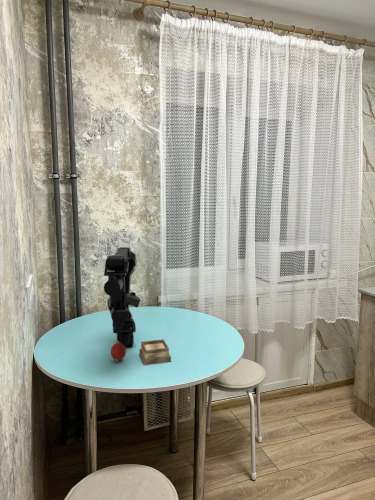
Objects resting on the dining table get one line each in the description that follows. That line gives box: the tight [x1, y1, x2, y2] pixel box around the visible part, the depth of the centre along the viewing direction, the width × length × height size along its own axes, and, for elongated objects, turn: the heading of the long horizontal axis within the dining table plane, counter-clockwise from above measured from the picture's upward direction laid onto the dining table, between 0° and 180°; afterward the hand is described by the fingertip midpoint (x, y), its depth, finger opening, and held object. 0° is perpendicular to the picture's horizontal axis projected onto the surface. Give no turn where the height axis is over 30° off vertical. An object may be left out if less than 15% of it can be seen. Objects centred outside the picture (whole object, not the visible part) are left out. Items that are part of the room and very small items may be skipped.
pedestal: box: [138, 338, 172, 366], centre depth 146 cm, size 10×10×5 cm
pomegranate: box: [109, 340, 127, 362], centre depth 143 cm, size 6×6×8 cm
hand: (118, 328), depth 142 cm, fingers open, 9 cm apart
